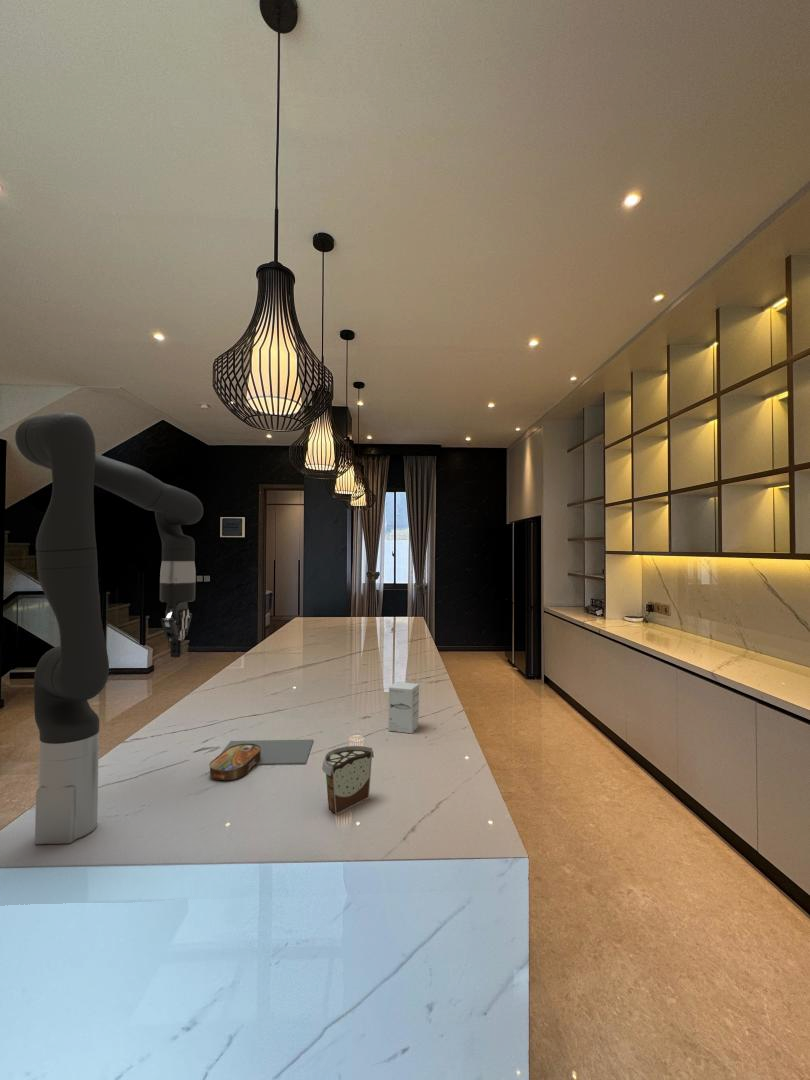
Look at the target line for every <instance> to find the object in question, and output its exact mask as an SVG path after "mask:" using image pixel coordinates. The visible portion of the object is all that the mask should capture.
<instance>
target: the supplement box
mask: <svg viewBox="0 0 810 1080" xmlns="http://www.w3.org/2000/svg"><path fill="white" fill-rule="evenodd" d="M419 700H420V683H411V682H400V681H395V682H393V683H392V685H390V686H389V687H388V721H387V722H388V723H387V724H388V727H387V728H388V729H387V730H388V732H399V733H407V734H408V733H409V734H413V733H414V732H415V731H414V730H417V729H418V728H419V717H420V714H419V712H420V711H419V710H420V709H419V708H420V707H419V706H420V704H419V703H420V701H419Z"/></svg>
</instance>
